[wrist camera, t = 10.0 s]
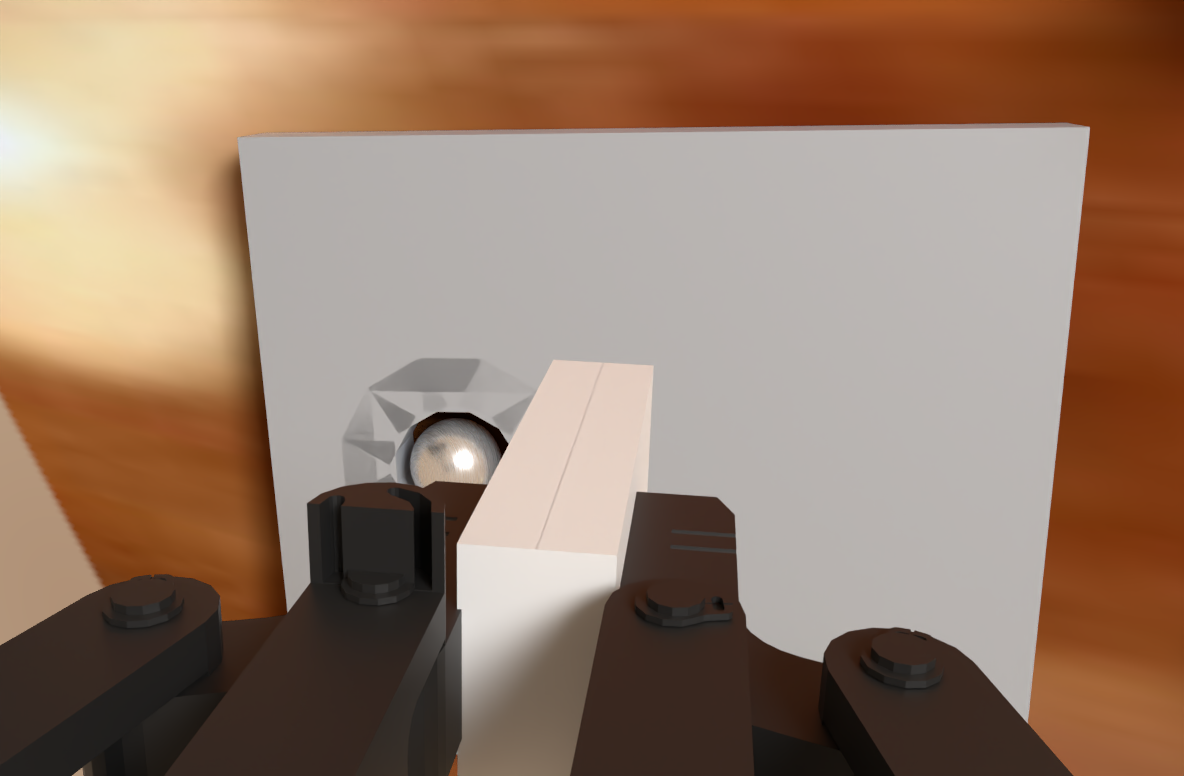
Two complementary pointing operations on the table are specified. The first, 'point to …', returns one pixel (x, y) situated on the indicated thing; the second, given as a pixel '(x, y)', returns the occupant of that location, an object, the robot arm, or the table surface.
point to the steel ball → (454, 453)
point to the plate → (705, 339)
